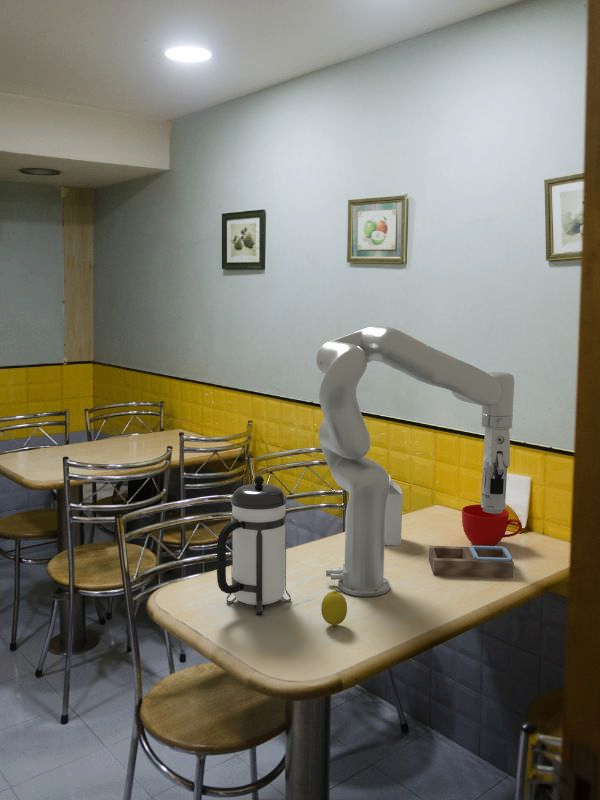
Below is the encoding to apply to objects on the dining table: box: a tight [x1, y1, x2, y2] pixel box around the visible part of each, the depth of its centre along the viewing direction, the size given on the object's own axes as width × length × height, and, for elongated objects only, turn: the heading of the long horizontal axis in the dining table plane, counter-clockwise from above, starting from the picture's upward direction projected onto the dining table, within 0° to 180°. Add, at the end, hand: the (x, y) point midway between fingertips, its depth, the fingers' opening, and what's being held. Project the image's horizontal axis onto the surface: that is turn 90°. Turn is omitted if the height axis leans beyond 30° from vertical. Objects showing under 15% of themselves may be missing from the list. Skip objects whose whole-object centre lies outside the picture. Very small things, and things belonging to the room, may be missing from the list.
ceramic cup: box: [461, 504, 523, 546], centre depth 210 cm, size 13×17×10 cm
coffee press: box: [216, 475, 292, 616], centre depth 167 cm, size 17×16×30 cm
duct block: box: [428, 545, 515, 579], centre depth 192 cm, size 20×11×5 cm, turn 87°
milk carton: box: [384, 474, 403, 547], centre depth 212 cm, size 7×7×19 cm
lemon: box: [320, 590, 348, 627], centre depth 158 cm, size 6×6×8 cm
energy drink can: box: [480, 456, 508, 514], centre depth 189 cm, size 6×6×15 cm
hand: (493, 489), depth 189 cm, fingers closed on energy drink can, 6 cm apart
